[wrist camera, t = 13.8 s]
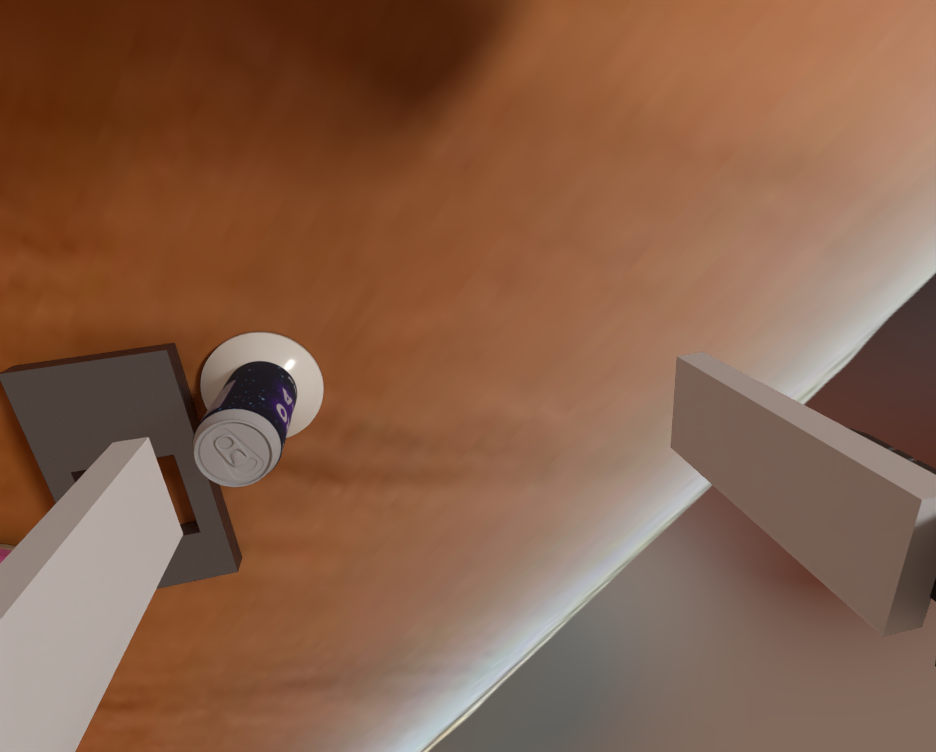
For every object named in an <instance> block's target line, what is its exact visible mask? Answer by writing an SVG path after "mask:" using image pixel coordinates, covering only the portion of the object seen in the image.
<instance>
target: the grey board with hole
mask: <svg viewBox="0 0 936 752" xmlns="http://www.w3.org/2000/svg"><path fill="white" fill-rule="evenodd" d="M0 381H1V383H2V385H3V387H4V390H5V392H6V394H7V396H8V399H9V401H10V403H11V405H12V407H13V410H14V412H15V414H16V416H17V418H18V421H19V423H20V425H21V427H22V430H23V432H24V434H25V436H26V438H27V441H28V443H29V445H30V447H31V449H32V452H33V454H34V456H35V458H36V461H37V463H38V465H39V467H40V469H41V472H42V474H43V476H44V478H45V480H46V483H47V485H48V487H49V489H50V492H51V494H52V496H53V498H54V500H55V503H57V502H58V501H59V500H60V499H61V498H62V497H63V496H64V494H65V493H66V492H67V491H68V490H69V489H70V488H71V487H72V486H73V485H74V484H75V483H76V482H77V480H78V479H79V478H80V477H81V476H82V475H83V474H84V473H85V472H86V470H87V469H89V468H90V466H91V465H92V464H93V463H94V462H95V461H96V460H97V459H98V458H99V457H100V456H101V455H102V454H103V452H104V451H105V450H106V449H107V448H108V447H109V446H110V445H111V444H112V443H113V442H119V441H125V440H132V439H139V438H145V437H149V440H150V442H151V445H152V448H153V451H154V454H155V456H156V457H162V456H168V455H174V456H175V459H176V462H177V465H178V468H179V471H180V474H181V477H182V480H183V483H184V486H185V489H186V491H187V494H188V497H189V500H190V503H191V506H192V509H193V512H194V515H195V518H196V521H195V522H190V523H185V524H180V527H181V529H182V532H183V536H182V538H181V540H180V542H179V544H178V546H177V548H176V550H175V552H174V554H173V556H172V558H171V560H170V562H169V564H168V566H167V568H166V570H165V572H164V574H163V576H162V578H161V580H160V582H159V584H158V586H157V588H156V589H158V588H162V587H167V586H172V585H177V584H182V583H186V582H191V581H196V580H201V579H206V578H211V577H215V576H220V575H225V574H230V573H235V572H238V570H239V567H240V563H241V560H242V556H241V552H240V549H239V546H238V543H237V540H236V537H235V533H234V530H233V527H232V524H231V521H230V517H229V514H228V511H227V508H226V505H225V502H224V498H223V495H222V492H221V489H220V486H219V484H217V483H215V482H213V481H211V480H209V479H208V478H207V477H206V476H204V475H203V474H202V472H201V471H200V470H199V468H198V467H197V465H196V463H195V459H194V451H193V436H194V432H195V430H196V428H197V426H198V425H199V423H200V422H199V419H198V416H197V412H196V409H195V406H194V403H193V400H192V396H191V393H190V390H189V387H188V384H187V381H186V377H185V374H184V371H183V368H182V365H181V361H180V358H179V355H178V352H177V349H176V346H175V343H170V344H163V345H156V346H149V347H142V348H135V349H128V350H121V351H114V352H107V353H100V354H93V355H86V356H79V357H72V358H65V359H58V360H51V361H44V362H37V363H30V364H23V365H16V366H12V367H11V368H9V369H7V370H5V371H3V372H1V373H0Z"/></svg>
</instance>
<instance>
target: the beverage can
mask: <svg viewBox="0 0 936 752" xmlns="http://www.w3.org/2000/svg"><path fill="white" fill-rule="evenodd" d="M296 400H297V387H296V384H295V381H294V380H293V378H292V376H291V375H290V374H289V373H288V372H287V371H286V370H285V369H284V368H282V367H280V366H279V365H277V364H274V363H271V362H266V361H254V362H249V363H246V364H244V365H242V366H240V367H239V368H237V369H236V370H235V371H234V372H233V373H232V375H231V376H230V378H229V379H228V381H227V382H226V384H225V385H224V387H223V388H222V390H221V391H220V393H219V394H218V396H217V397H216V399H215V400H214V402H213V403H212V405H211V406H210V408H209V409H208V411H207V412H206V414H205V415H204V417H203V419H202V420H201V422H200V423H199V425H198V426H197V428H196V430H195V432H194V436H193V451H194V459H195V463H196V465H197V467H198V468H199V470H200V471H201V472H202V474H203V475H204V476H206V477H207V478H208V479H209V480H211V481H213V482H215V483H217V484H220V485H223V486H228V487H242V486H247V485H250V484H253V483H255V482H257V481H258V480H260V479H261V478H263V477H264V476H265V475H266V474H268V473H269V472H270V471H271V470H272V469H273V468H274V467H275V466H276V465H277V463H278V462H279V460H280V457H281V454H282V451H283V447H284V443H285V440H286V436H287V433H288V429H289V425H290V422H291V418H292V415H293V411H294V408H295V404H296Z"/></svg>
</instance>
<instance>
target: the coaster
mask: <svg viewBox="0 0 936 752" xmlns="http://www.w3.org/2000/svg"><path fill="white" fill-rule="evenodd" d="M254 361H266V362H271V363H274V364H277V365H279V366H280V367H282V368H284V369H285V370H286V371H287V372H288V373H289V374H290V375H291V376H292V378H293V380H294V381H295V384H296V387H297V400H296V404H295V408H294V411H293V415H292V418H291V422H290V425H289V429H288V433H287V436H286V438H288V437H290V436H293V435H295V434H297V433H298V432H300V431H301V430H303V429H304V428H305V427H306V426H307V425H309V424H310V422H311V421H312V420H313V419H314V417H315V416H316V414H317V413H318V411H319V408H320V406H321V403H322V398H323V392H324V384H323V377H322V374H321V371H320V368H319V366H318V364H317V362H316V361H315V359H314V358H313V356H312V355H311V354H310V353H309V352H308V351H307V350H306V349H305V348H304V347H303V346H302V345H300V344H299V343H297V342H296V341H294V340H292V339H290V338H288V337H286V336H283V335H280V334H277V333H272V332H261V331H257V332H248V333H243V334H240V335H237V336H234V337H232V338H230V339H228V340H227V341H225V342H224V343H222V344H221V345H220V346H219V347H218V348H217V349H215V351H214V352H213V353H212V354H211V355H210V357H209V358H208V360H207V362H206V363H205V365H204V368H203V370H202V375H201V382H200V387H201V395H202V399H203V402H204V404H205V407H206V408H207V410H208V409H209V408H210V406H211V405H212V403H213V402H214V400H215V399H216V397H217V396H218V394H219V393H220V391H221V390H222V388H223V387H224V385H225V384H226V382H227V381H228V379H229V378H230V376H231V375H232V373H233V372H234V371H235V370H236V369H237V368H239V367H240V366H242V365H244V364H246V363H249V362H254Z"/></svg>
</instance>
